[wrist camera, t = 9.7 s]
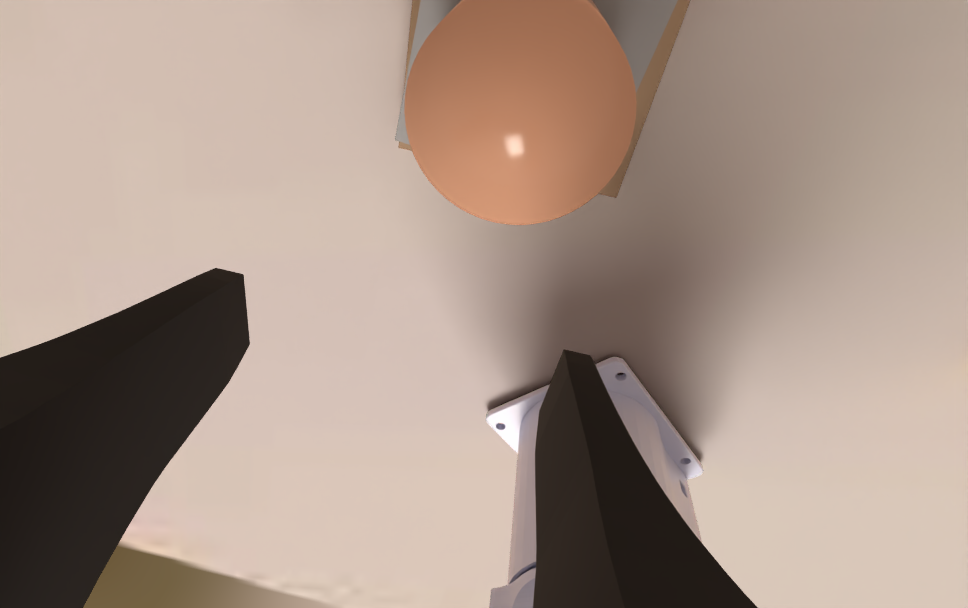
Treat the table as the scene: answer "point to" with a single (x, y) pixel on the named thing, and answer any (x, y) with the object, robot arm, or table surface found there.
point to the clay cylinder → (520, 107)
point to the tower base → (642, 95)
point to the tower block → (623, 3)
